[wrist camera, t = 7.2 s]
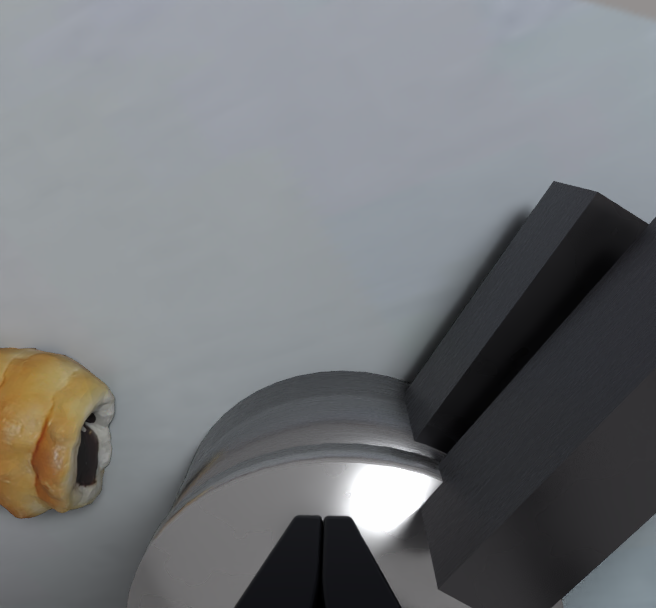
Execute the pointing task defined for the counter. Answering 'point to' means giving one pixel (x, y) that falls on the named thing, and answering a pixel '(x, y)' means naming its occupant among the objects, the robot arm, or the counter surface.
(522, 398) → the lid
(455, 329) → the pot
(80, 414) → the pastry
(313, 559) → the robot arm
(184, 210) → the counter surface
